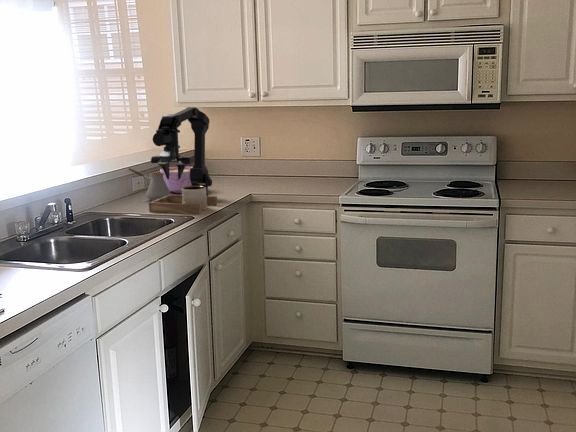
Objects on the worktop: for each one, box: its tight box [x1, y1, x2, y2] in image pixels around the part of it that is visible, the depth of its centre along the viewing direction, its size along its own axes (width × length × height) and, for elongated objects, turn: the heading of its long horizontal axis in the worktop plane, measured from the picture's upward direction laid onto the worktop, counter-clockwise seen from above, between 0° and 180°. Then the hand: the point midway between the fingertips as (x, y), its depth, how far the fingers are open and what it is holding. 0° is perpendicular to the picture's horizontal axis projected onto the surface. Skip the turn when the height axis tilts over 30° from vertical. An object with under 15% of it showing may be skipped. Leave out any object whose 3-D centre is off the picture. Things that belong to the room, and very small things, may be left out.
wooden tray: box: [148, 194, 218, 215], centre depth 281 cm, size 20×24×4 cm
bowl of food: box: [159, 166, 193, 194], centre depth 324 cm, size 20×20×12 cm
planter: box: [181, 186, 208, 211], centre depth 279 cm, size 11×11×10 cm
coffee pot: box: [126, 167, 172, 202], centre depth 302 cm, size 21×12×15 cm, turn 74°
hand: (173, 179), depth 280 cm, fingers open, 5 cm apart
